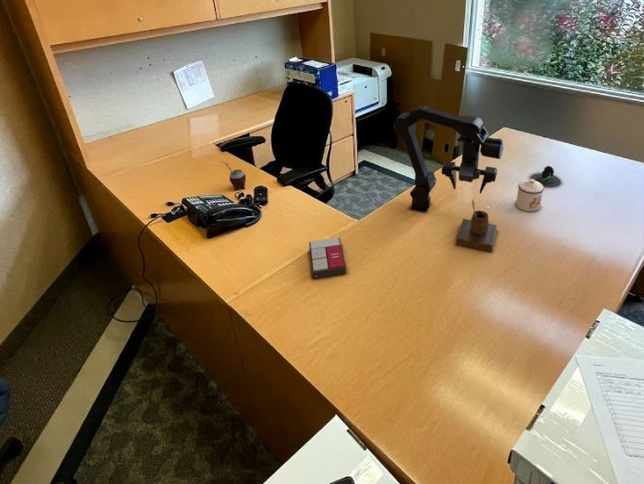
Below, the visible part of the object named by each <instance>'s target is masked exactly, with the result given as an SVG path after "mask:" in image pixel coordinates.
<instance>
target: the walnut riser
mask: <svg viewBox="0 0 644 484" xmlns="http://www.w3.org/2000/svg"><path fill="white" fill-rule="evenodd" d="M470 226H471V219H466V218H463V219H462V220H461V224H460V227H459V229H458V232H457V236H456V239H455V240H456V241H455V245H456V246H461V247H466V248H470V249H475V250H480V251H483V252H490V253H492V252H493V248H494V243H495V239H496V236H497V235H496V234H497V230H498V225H497V224H494V223H489V225H488V231H487V233H486V234H485V235H475V234H473V233H472V232H471V229H470Z"/></svg>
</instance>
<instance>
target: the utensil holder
mask: <svg viewBox="0 0 644 484" xmlns="http://www.w3.org/2000/svg"><path fill="white" fill-rule="evenodd" d="M471 206H472V210H473V213H472V216H471V219H470V220H471V226H470V229H471V232H472V233H473V234H475V235H485V234H486V233H487V231H488V225H489V224H490V221H489V215H490V212H491V211H490V207H489V206H487V205H486V206H485V207H483V208H482V210H476V204H475V201H474V199H472V201H471ZM485 209H486V210H485ZM487 210H488V211H487Z"/></svg>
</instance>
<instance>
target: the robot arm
mask: <svg viewBox="0 0 644 484" xmlns="http://www.w3.org/2000/svg"><path fill="white" fill-rule="evenodd" d="M421 120H423V121H427V122H429V123H432V124H436V125H438V126H439V125H440V126H441V127H442V126H443V127H445V128H448V129H452V130H454V131H456V133H458V134H459V136H458V138H457V139H456V141H457V142H460V143H462V151H461V162H460V164H459V166H458V165H457V163H456V162H455V161H448V160H446V161H444V163H443V164H442V167H441V175H444V176H445V177H447V178H448V179H449V180H450V181H451V182H450V183H451V185H452V188H453V190H454V191H455V190H456V188H457V173H458V180H459V182H468V183H473V182H474V180H479V179H480V176H483V177H482V181H481V185H480V189H479V194H480V195H481V194H482V192H483V190H484V188H485V187H486V185H487V184H488V183H489V184H491V183H492V182H496V179H497V176H498V168H497V167H493V166H485V168H484V169H481V168H479V162H480V161H479V160H480V156H482V157H485V158H490V159H496V160H501V159H502V156H503V151H504V147H505V146H504V140H503V138H494V137H489V135H490V134H489V132H488V131H487V128H485V126H484V122H483V120H482V118H480V117H478V116H472V115H457V114H452V113H450V112H447V111H443V110H439V109H437V108H433V107H429V106H428V105H423V104H422V105H420V106H419V107H417V108H415V109H413V110H411V111H410V112H408V111H407V112H403V113H402V114H400V115H399V116H398V117H397V118H396V119H394V122H393V128H394V130H395V132H396V134H397V135H398V137H399V138H401V139H402V141H403V143H404V145H405V148H406V151H407V154H408V157H409V160H410V163H411V166H412V169H413V171H414V187H413V188H412V189H411V191H410V192H409V195H410V197H411V206H410V210H414V211H417V212H423V213H424V212H425V213H427V211H428V209H429V208H430V206H431V202H432V201H431V196H430V193H431V192H432V191H433V189H434V187H435V186H436V184H437V178H436V176H435V172H434V171H433V170H432V171H430V170H429V169H428V168H427V164H426V162H425V159H424V156H423V153H422V151H421V147H420V145H419V141H418V139H417V136H416V131H417V124H416V123H418V122H419V121H421Z"/></svg>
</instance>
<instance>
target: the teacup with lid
mask: <svg viewBox="0 0 644 484" xmlns="http://www.w3.org/2000/svg"><path fill="white" fill-rule="evenodd" d="M544 191H545V187H543V185H542V184H541V183H539V182H537V181H535V180H534V179H530V178H529V179H523V180H521V181H519V183H518V185H517V195H516V200H515V205H516V207H517V208H518V209H520V210H523V211H525V212H535V211H538V210H539V209H540V207H541V204H542V203H541V202H542V198H543V192H544Z"/></svg>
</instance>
